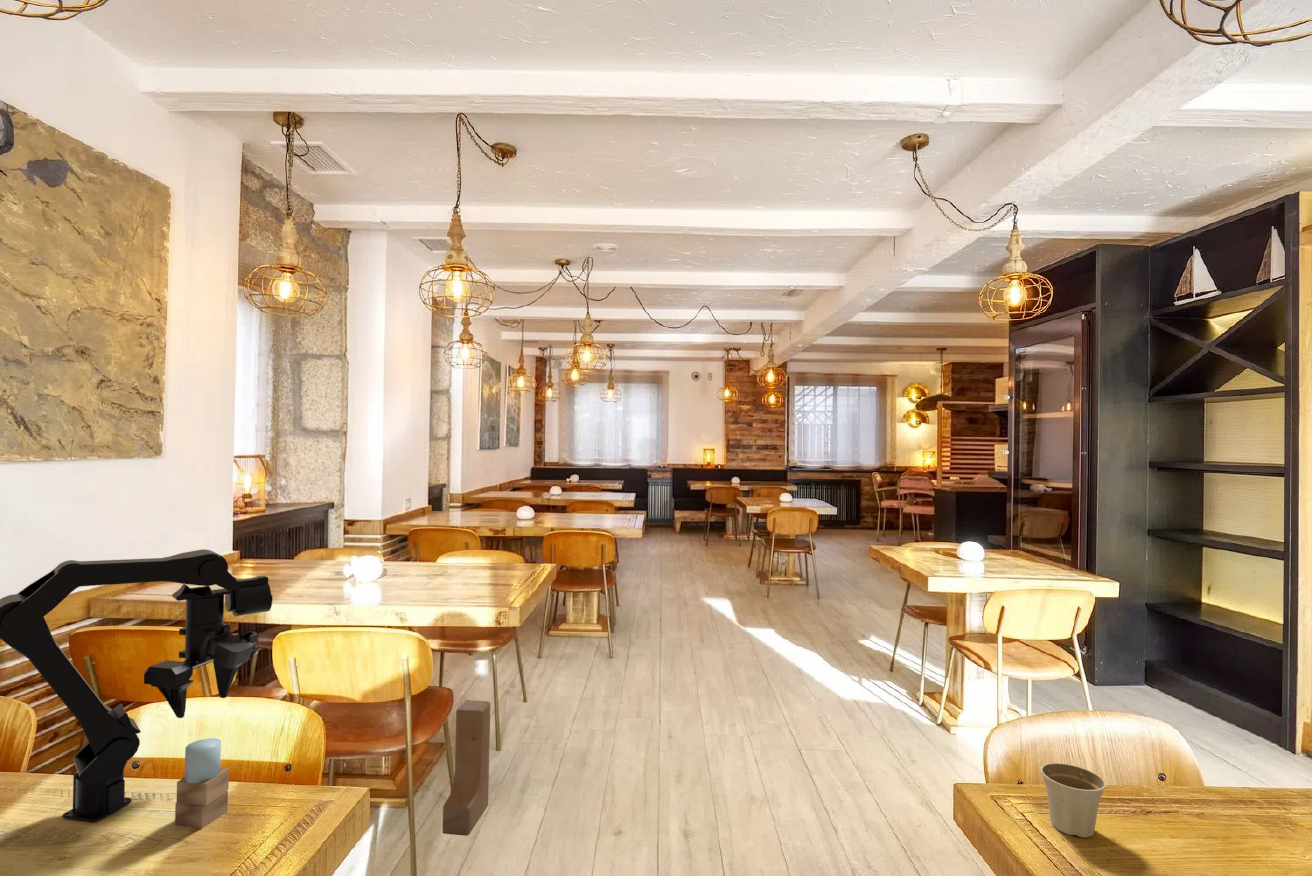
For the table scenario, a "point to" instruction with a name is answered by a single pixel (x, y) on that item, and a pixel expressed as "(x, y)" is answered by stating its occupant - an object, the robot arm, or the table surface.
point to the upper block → (202, 789)
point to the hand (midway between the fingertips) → (202, 707)
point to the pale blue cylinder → (202, 760)
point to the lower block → (201, 812)
